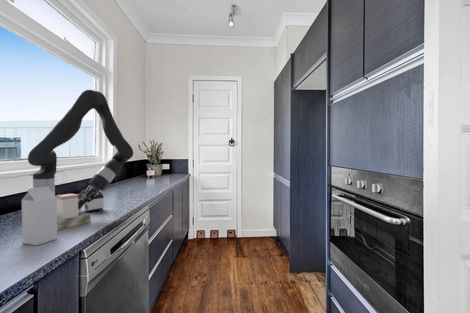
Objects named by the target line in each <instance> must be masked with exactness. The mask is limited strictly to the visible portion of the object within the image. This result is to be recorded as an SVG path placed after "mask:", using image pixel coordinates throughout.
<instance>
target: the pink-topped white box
mask: <svg viewBox="0 0 470 313" xmlns="http://www.w3.org/2000/svg"><path fill="white" fill-rule="evenodd" d="M55 196H56V198H57V220H62V219H67V218H72V217H77V216H78V201H79V194H75V193H65V194H57V195H56V194H55Z"/></svg>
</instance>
